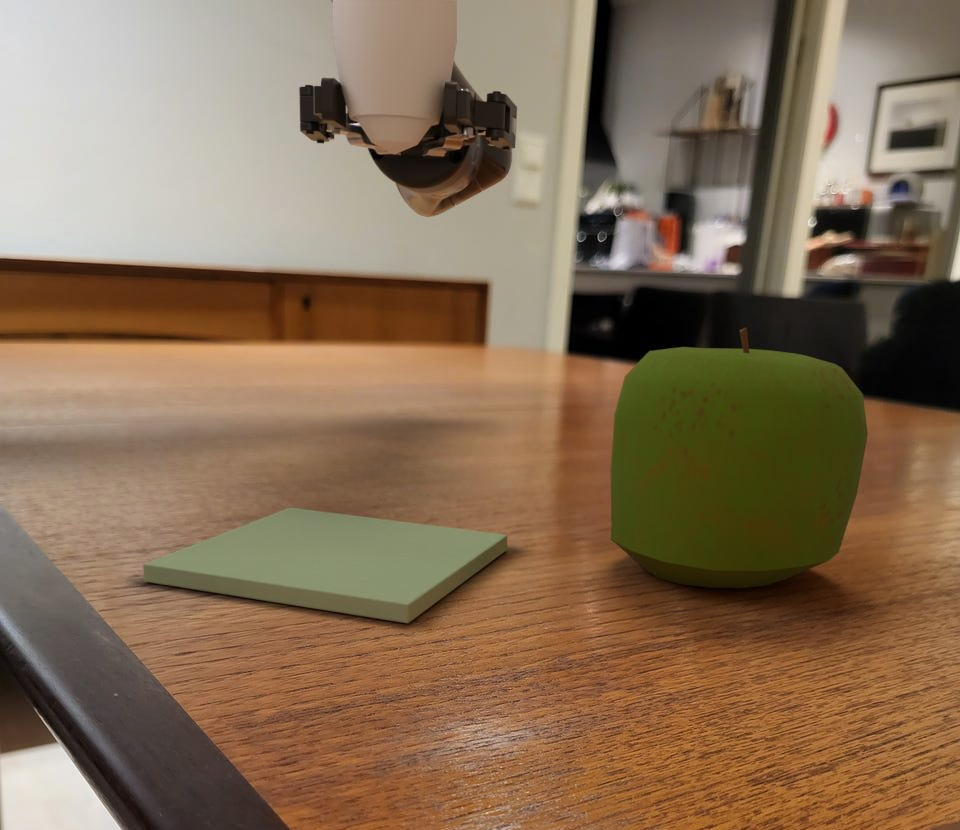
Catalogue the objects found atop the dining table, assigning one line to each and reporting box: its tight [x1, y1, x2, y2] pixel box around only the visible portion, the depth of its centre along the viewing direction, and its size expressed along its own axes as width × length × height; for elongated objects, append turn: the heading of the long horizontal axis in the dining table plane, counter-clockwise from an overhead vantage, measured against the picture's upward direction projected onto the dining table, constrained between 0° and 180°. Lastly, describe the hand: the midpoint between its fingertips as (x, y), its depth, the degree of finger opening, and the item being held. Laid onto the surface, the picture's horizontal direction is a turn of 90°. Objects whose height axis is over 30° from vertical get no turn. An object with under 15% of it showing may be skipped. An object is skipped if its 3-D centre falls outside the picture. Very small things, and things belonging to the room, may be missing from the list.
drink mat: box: [142, 507, 509, 624], centre depth 45 cm, size 12×12×1 cm
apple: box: [610, 327, 869, 589], centre depth 45 cm, size 11×11×11 cm
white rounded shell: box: [331, 0, 458, 154], centre depth 59 cm, size 7×7×21 cm
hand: (388, 100), depth 57 cm, fingers closed on white rounded shell, 6 cm apart
